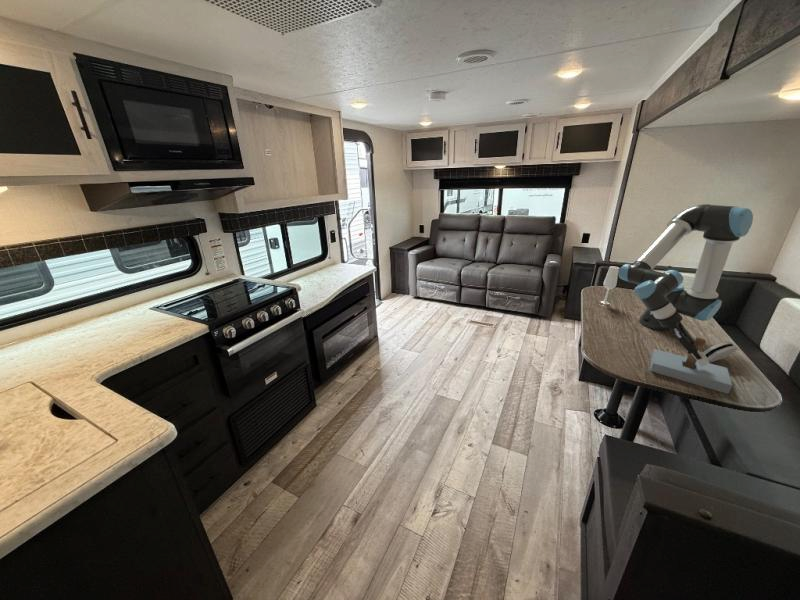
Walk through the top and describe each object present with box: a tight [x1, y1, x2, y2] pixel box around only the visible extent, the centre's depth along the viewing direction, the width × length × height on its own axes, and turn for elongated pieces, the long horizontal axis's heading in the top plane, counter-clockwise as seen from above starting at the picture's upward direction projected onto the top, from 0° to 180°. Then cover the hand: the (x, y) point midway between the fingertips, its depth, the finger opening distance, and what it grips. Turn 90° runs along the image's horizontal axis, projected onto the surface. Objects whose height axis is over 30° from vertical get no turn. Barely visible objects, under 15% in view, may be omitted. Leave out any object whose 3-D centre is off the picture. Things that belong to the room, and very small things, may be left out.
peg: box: [684, 337, 707, 369], centre depth 127 cm, size 3×3×13 cm
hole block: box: [649, 348, 733, 395], centre depth 130 cm, size 24×14×4 cm, turn 52°
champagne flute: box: [600, 265, 620, 304], centre depth 192 cm, size 7×7×24 cm
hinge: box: [702, 341, 739, 364], centre depth 139 cm, size 17×5×10 cm, turn 109°
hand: (704, 362), depth 126 cm, fingers closed on peg, 3 cm apart
